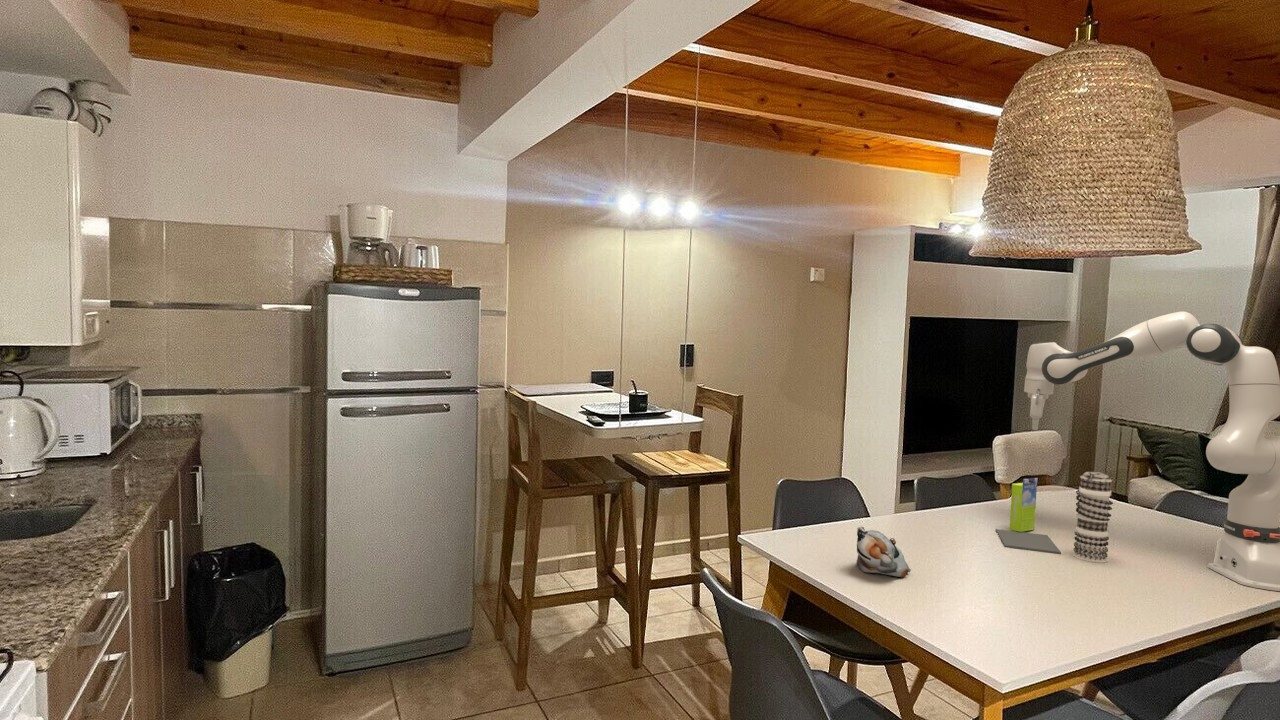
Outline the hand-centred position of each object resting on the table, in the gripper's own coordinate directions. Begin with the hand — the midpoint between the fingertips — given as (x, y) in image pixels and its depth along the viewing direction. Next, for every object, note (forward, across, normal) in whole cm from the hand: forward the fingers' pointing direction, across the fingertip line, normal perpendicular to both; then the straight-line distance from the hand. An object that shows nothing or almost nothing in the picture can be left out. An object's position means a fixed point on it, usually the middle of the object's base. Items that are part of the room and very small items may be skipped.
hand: (1035, 427), depth 248 cm
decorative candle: (+31, -38, -17) cm, 52 cm away
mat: (+32, -31, -1) cm, 44 cm away
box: (+32, -18, +1) cm, 37 cm away
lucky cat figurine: (+30, -89, +32) cm, 99 cm away
